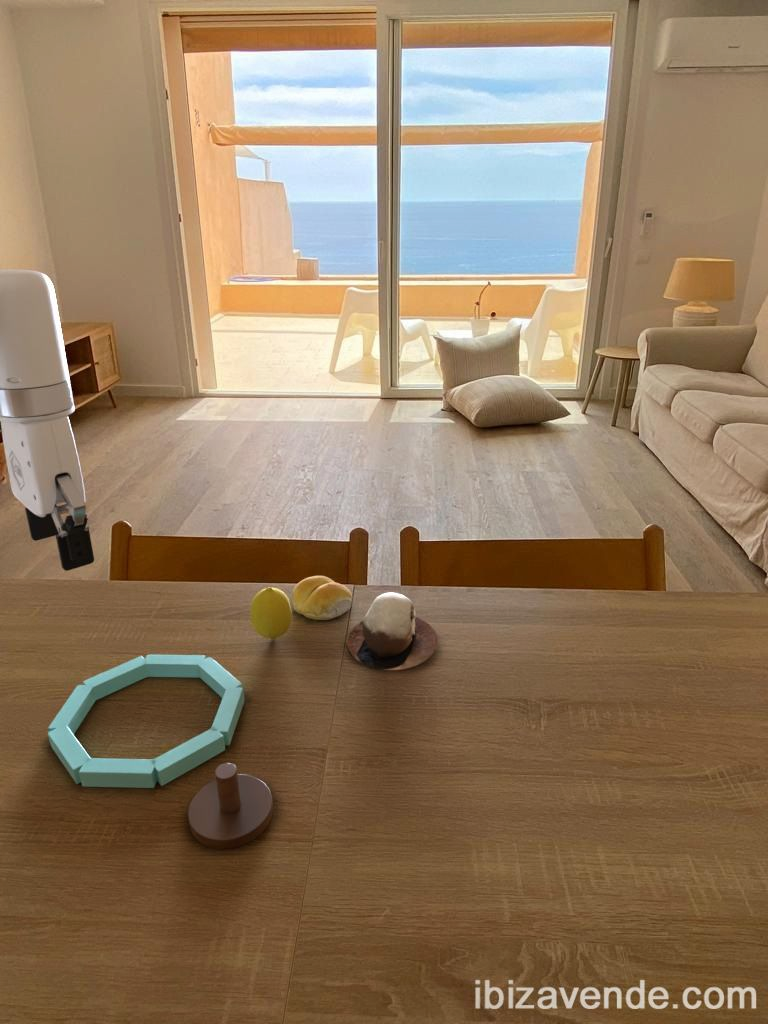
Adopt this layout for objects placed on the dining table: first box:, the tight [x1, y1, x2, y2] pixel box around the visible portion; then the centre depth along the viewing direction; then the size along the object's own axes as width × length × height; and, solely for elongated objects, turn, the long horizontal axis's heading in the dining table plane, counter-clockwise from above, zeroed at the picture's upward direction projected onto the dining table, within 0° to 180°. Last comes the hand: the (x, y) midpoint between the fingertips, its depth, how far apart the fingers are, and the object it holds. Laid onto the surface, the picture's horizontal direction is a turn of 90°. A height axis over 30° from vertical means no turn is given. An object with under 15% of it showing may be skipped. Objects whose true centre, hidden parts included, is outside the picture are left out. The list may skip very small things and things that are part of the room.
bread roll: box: [290, 575, 353, 621], centre depth 101 cm, size 8×9×4 cm
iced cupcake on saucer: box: [347, 591, 438, 671], centre depth 93 cm, size 12×10×10 cm
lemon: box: [249, 586, 293, 640], centre depth 93 cm, size 6×6×8 cm
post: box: [187, 762, 274, 850], centre depth 66 cm, size 8×8×6 cm
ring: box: [47, 654, 245, 789], centre depth 80 cm, size 20×20×2 cm
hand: (62, 550), depth 77 cm, fingers open, 9 cm apart
